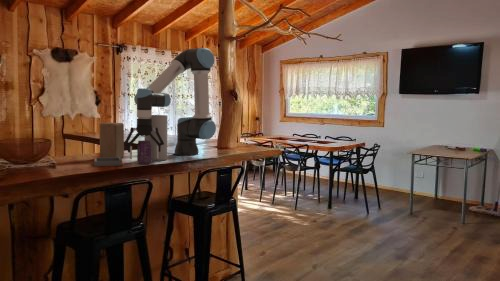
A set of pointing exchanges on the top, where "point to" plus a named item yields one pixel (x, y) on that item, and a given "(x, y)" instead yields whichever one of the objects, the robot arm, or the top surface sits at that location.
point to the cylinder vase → (161, 124)
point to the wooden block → (111, 140)
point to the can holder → (108, 161)
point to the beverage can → (144, 152)
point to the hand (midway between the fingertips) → (144, 158)
